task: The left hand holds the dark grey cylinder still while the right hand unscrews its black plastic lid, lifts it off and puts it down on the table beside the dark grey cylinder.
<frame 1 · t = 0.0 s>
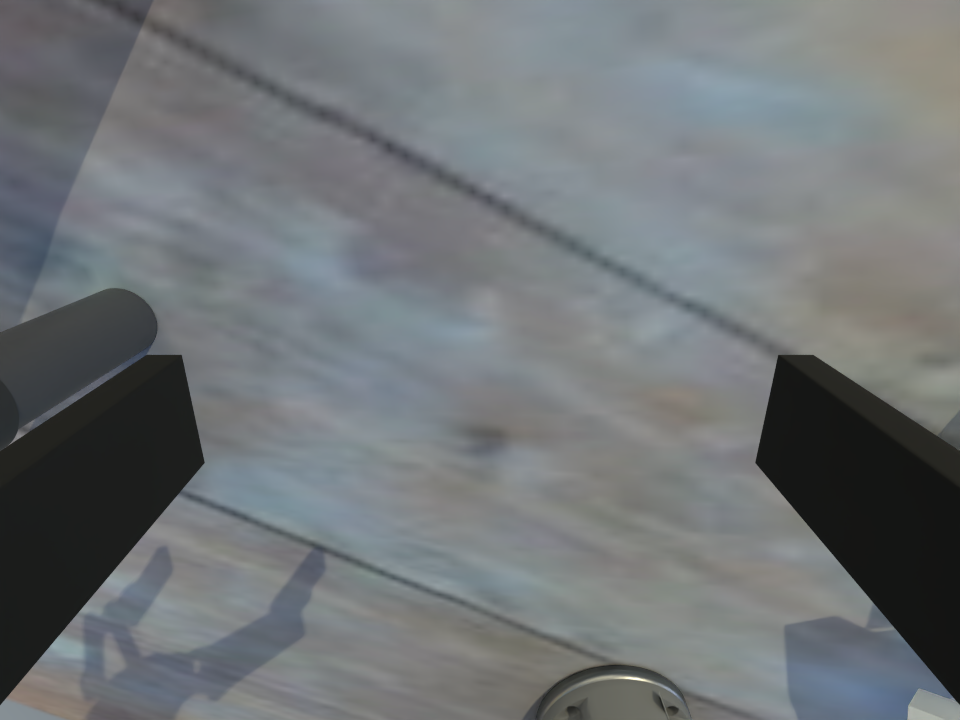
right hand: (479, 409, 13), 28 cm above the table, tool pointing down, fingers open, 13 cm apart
dark grey cylinder: (123, 320, 41), on the table
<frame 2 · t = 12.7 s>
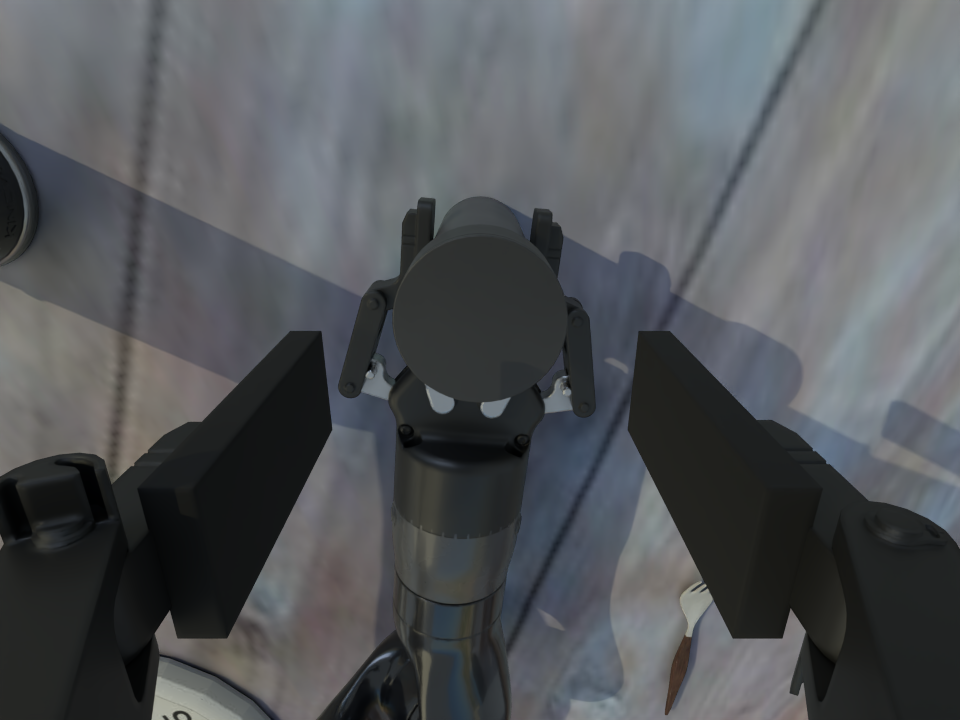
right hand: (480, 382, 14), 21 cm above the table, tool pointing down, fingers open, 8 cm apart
left hand: (485, 206, 27), fingers closed on dark grey cylinder, 5 cm apart
dark grey cylinder: (480, 239, 33), on the table, touching left hand
lid: (480, 320, 19), point 16 cm above the table, screwed on, not yet turned
fork: (682, 638, 45), on the table
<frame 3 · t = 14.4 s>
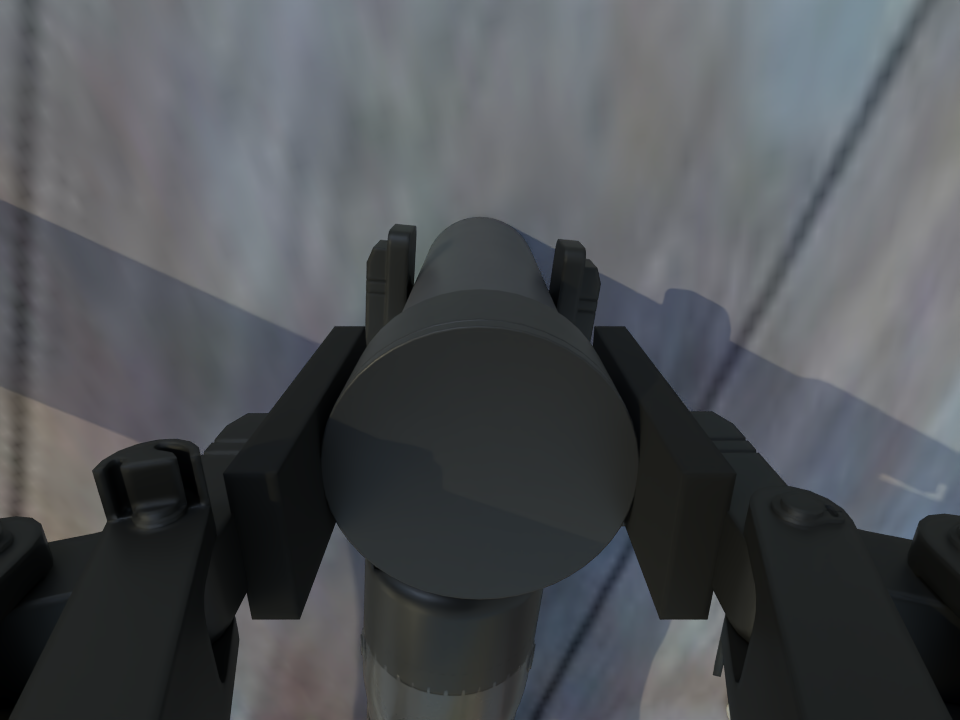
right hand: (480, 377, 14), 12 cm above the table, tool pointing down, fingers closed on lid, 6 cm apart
dark grey cylinder: (480, 272, 25), on the table, touching left hand
lid: (479, 467, 10), point 16 cm above the table, screwed on, not yet turned, touching right hand
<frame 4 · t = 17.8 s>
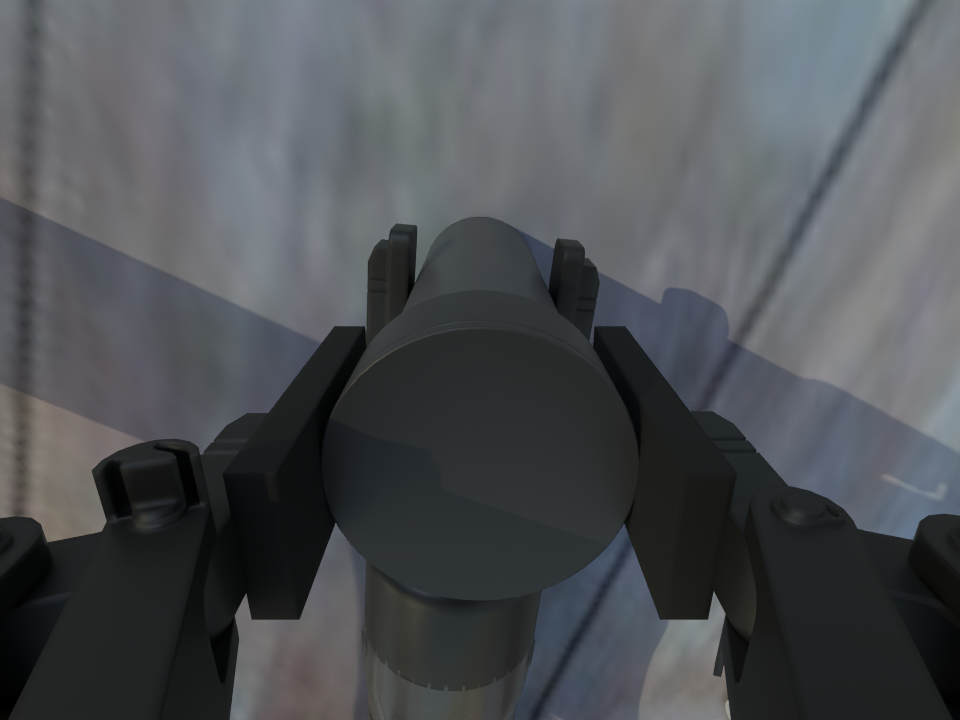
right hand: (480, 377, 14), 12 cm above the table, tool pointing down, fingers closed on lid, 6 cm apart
dark grey cylinder: (480, 272, 25), on the table, touching left hand
lid: (480, 468, 10), point 16 cm above the table, turned 128° so far, risen 0.2 cm, still on its thread, touching right hand
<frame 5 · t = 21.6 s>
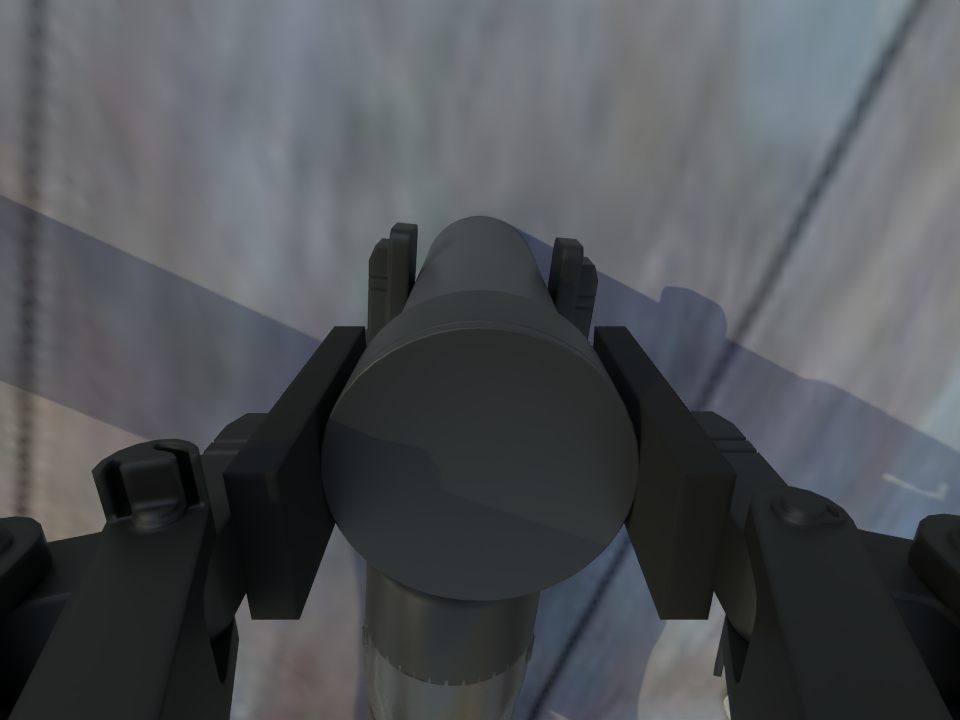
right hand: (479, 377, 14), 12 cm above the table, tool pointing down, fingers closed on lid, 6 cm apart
dark grey cylinder: (479, 271, 26), on the table, touching left hand
lid: (479, 468, 10), point 16 cm above the table, turned 255° so far, risen 0.4 cm, still on its thread, touching right hand
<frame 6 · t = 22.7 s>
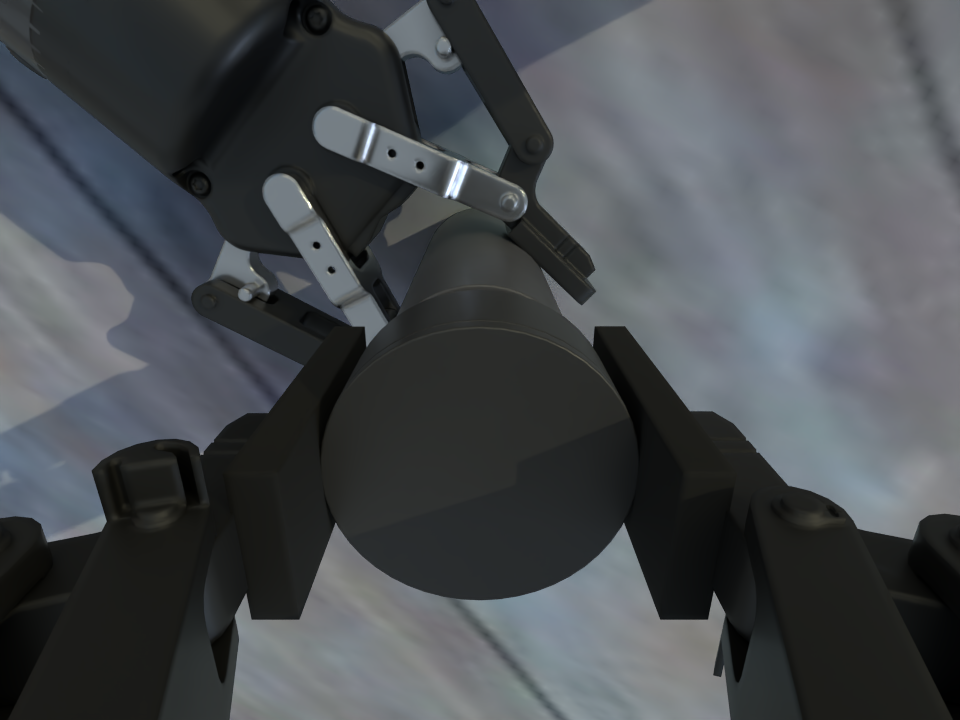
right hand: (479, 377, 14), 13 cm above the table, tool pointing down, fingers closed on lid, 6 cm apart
left hand: (529, 344, 21), fingers closed on dark grey cylinder, 5 cm apart
dark grey cylinder: (479, 262, 26), on the table, touching left hand
lid: (479, 467, 10), point 17 cm above the table, off its thread, touching right hand
when the right hand's fingers open (0 cm above the table, at t = 27.8 s): lid drops 2 cm, point 2 cm above the table.
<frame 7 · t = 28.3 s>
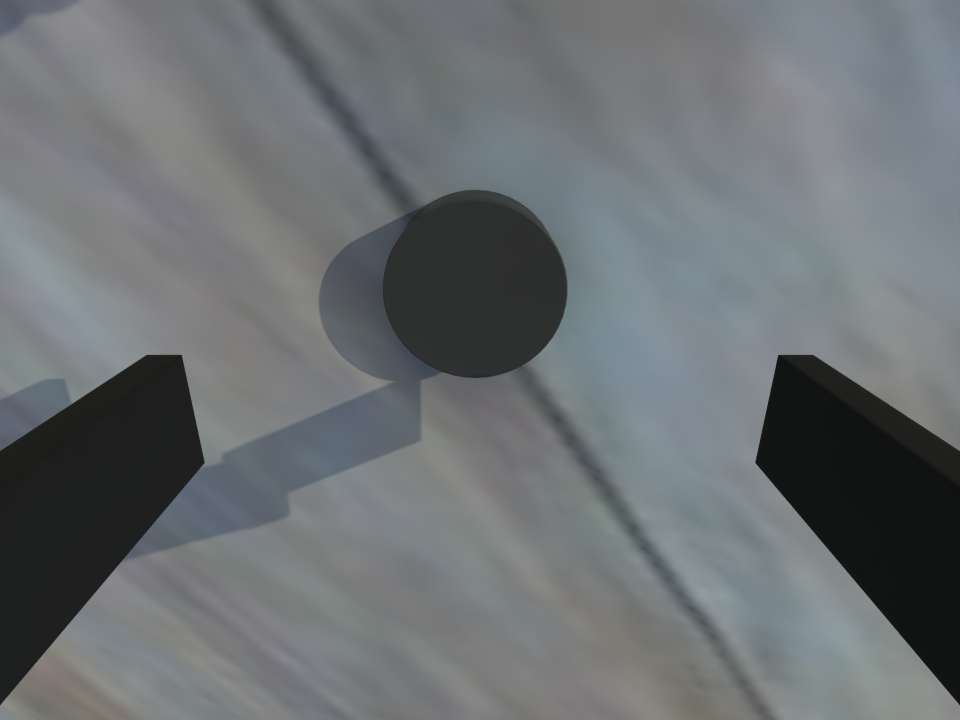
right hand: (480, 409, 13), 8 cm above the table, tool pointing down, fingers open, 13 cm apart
lid: (475, 291, 18), point 2 cm above the table, off its thread
when the left hand's fingers open (6 cm above the table, at t = 28.5 s): dark grey cylinder stays where it is, on the table.
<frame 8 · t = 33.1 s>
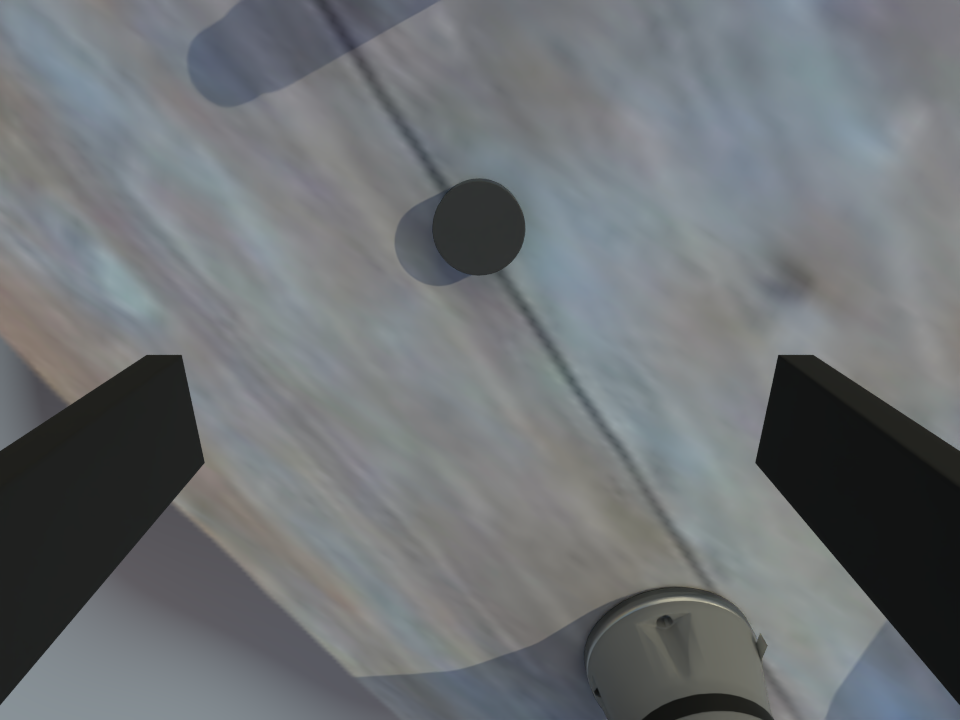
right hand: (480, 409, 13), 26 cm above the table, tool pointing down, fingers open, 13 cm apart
lid: (478, 229, 35), point 2 cm above the table, off its thread
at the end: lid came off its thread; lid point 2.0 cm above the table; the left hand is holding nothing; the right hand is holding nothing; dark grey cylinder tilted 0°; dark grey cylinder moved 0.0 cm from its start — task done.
